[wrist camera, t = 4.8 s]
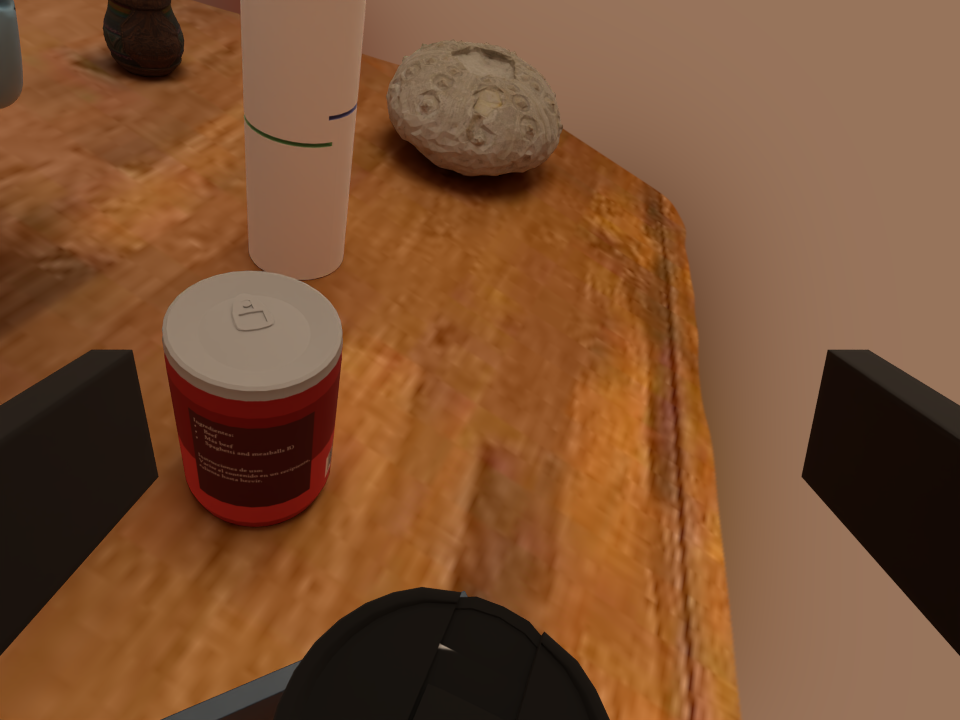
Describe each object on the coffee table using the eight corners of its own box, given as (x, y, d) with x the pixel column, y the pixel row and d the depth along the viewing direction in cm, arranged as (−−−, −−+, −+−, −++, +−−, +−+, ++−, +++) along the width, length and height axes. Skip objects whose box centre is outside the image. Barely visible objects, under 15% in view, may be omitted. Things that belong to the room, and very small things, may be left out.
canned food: (279, 395, 40) (279, 251, 32) (359, 482, 37) (380, 344, 29) (156, 454, 35) (124, 302, 28) (236, 560, 32) (224, 420, 25)
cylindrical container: (362, 257, 52) (405, -118, 35) (292, 292, 47) (303, -122, 30) (300, 215, 54) (312, -157, 37) (228, 244, 49) (203, -167, 32)
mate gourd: (103, 52, 67) (83, -59, 60) (182, 53, 70) (172, -50, 63) (114, 83, 63) (94, -32, 56) (197, 83, 66) (188, -24, 59)
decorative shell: (574, 199, 66) (608, 105, 60) (410, 202, 59) (428, 96, 52) (506, 116, 77) (529, 29, 70) (361, 111, 70) (370, 12, 63)
